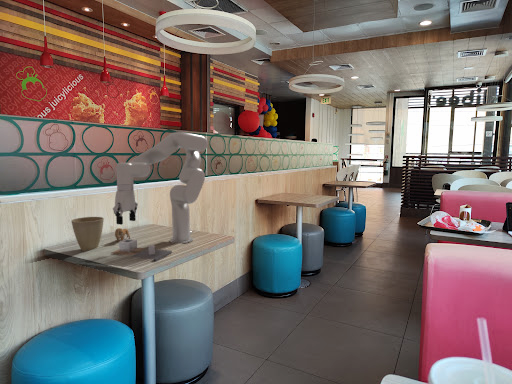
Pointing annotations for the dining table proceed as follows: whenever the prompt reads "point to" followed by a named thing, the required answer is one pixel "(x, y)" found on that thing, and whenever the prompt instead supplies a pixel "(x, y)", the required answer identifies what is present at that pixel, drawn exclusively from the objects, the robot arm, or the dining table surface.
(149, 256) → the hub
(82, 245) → the plant pot
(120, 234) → the lion figurine
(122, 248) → the white hollow box
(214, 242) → the dining table surface
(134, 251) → the stand
